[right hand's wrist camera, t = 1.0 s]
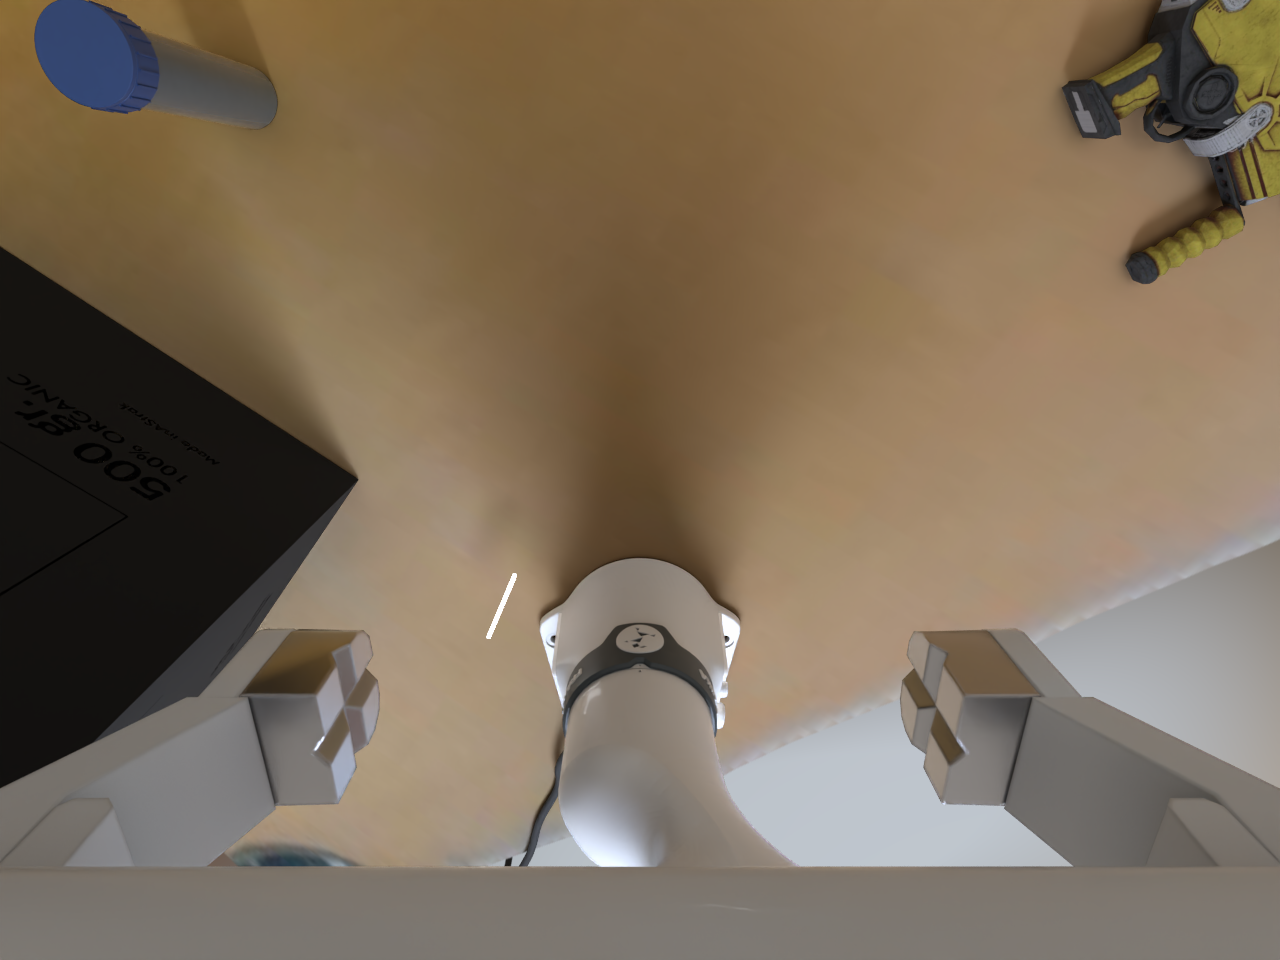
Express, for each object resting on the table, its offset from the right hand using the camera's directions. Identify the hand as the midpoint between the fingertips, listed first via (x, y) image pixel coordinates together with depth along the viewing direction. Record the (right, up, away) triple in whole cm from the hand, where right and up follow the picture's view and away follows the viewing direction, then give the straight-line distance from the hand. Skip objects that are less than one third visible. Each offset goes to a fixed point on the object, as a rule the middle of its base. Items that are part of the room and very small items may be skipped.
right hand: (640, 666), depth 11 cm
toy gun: (+41, +25, +42) cm, 64 cm away
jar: (-28, +30, +40) cm, 57 cm away
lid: (-28, +24, +25) cm, 45 cm away
